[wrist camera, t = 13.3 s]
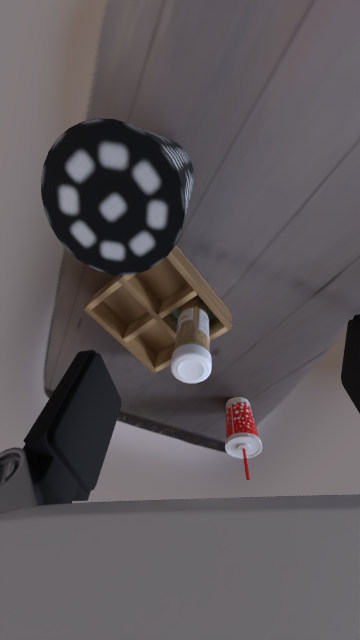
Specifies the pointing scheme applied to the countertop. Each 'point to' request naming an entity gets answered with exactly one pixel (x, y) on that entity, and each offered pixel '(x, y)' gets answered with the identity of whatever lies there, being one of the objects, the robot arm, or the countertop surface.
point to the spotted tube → (116, 195)
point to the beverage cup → (241, 431)
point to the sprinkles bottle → (192, 343)
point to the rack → (155, 308)
